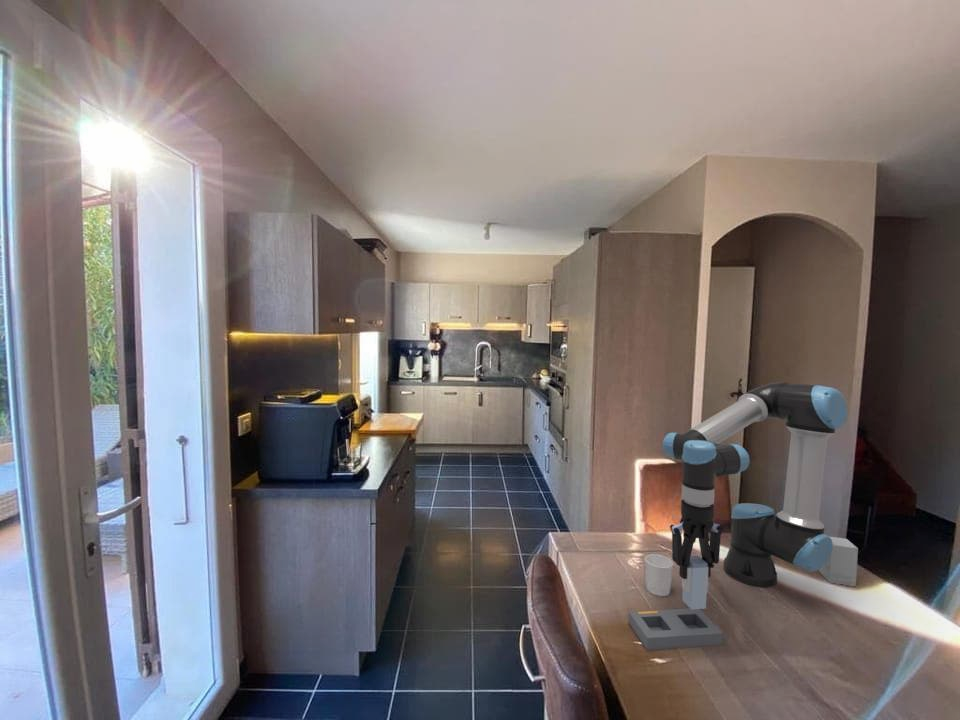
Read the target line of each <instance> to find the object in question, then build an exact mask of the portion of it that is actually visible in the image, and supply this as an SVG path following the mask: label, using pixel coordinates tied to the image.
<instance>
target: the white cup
mask: <svg viewBox="0 0 960 720" xmlns="http://www.w3.org/2000/svg"><path fill="white" fill-rule="evenodd" d="M673 562H674V561H673V560H672V559H670V558H668V557H667V556H664V555H662V554H661V555H660V554H656V553H655V554H653V553H651V554H648V555H646V556H645V558H644V569H645V571H644V572H645V573H644V576H645V577H644V578H645V588H646V591H648V592H649V593H650V594H653V595H656V596H659V597H666V596H669V595H670V594H671V586H672V579H673V571H674V570H673V567H674V563H673Z"/></svg>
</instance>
